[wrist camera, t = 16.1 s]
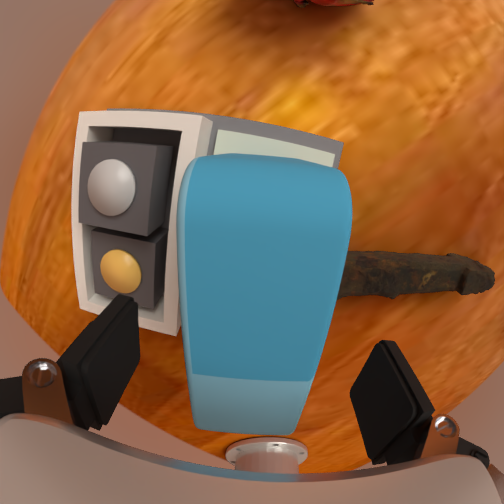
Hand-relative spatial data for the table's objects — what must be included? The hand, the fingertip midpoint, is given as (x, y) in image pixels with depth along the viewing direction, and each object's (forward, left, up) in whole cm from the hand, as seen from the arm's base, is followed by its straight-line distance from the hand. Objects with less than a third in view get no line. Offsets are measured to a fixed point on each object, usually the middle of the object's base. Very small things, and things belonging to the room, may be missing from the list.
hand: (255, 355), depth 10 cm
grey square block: (+4, +9, -9) cm, 13 cm away
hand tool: (+2, -14, -13) cm, 19 cm away
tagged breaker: (-2, +9, -11) cm, 14 cm away
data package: (+1, 0, -11) cm, 11 cm away
